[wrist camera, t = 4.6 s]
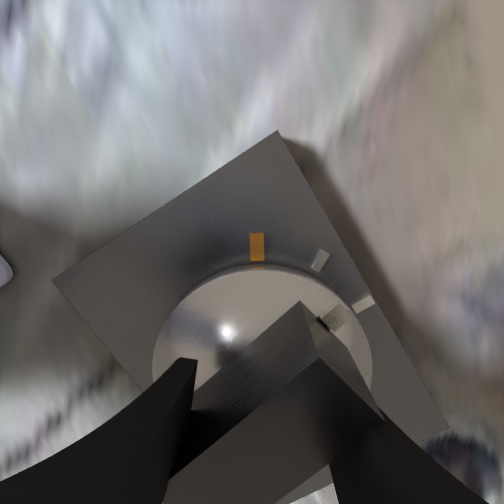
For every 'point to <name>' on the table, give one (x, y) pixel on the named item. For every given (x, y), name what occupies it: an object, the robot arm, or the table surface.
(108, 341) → the dial plate
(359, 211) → the table surface
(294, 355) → the dial
